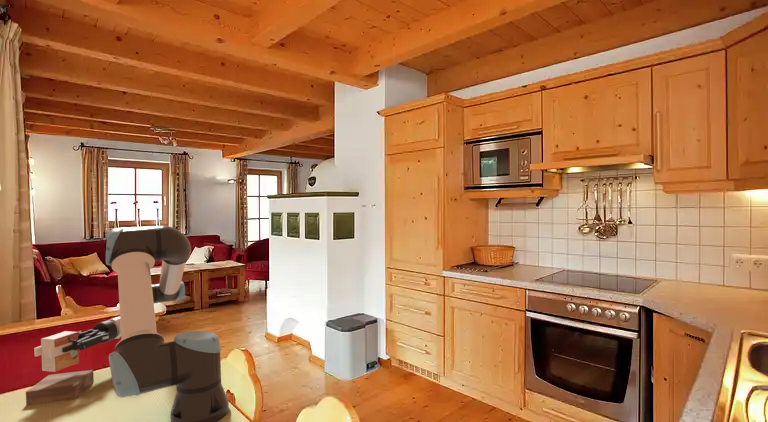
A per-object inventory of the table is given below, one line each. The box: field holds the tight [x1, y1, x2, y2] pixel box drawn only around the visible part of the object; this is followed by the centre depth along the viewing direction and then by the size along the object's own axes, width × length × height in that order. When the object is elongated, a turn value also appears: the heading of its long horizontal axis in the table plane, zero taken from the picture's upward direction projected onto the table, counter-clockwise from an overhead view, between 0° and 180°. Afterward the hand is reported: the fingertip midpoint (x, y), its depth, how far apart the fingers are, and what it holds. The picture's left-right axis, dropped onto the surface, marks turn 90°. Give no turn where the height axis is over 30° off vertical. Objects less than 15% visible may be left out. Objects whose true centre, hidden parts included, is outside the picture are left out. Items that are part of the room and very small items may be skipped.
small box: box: [40, 330, 80, 373], centre depth 133 cm, size 8×6×10 cm
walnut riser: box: [25, 369, 95, 406], centre depth 133 cm, size 13×13×4 cm
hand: (42, 353), depth 128 cm, fingers closed on small box, 6 cm apart
